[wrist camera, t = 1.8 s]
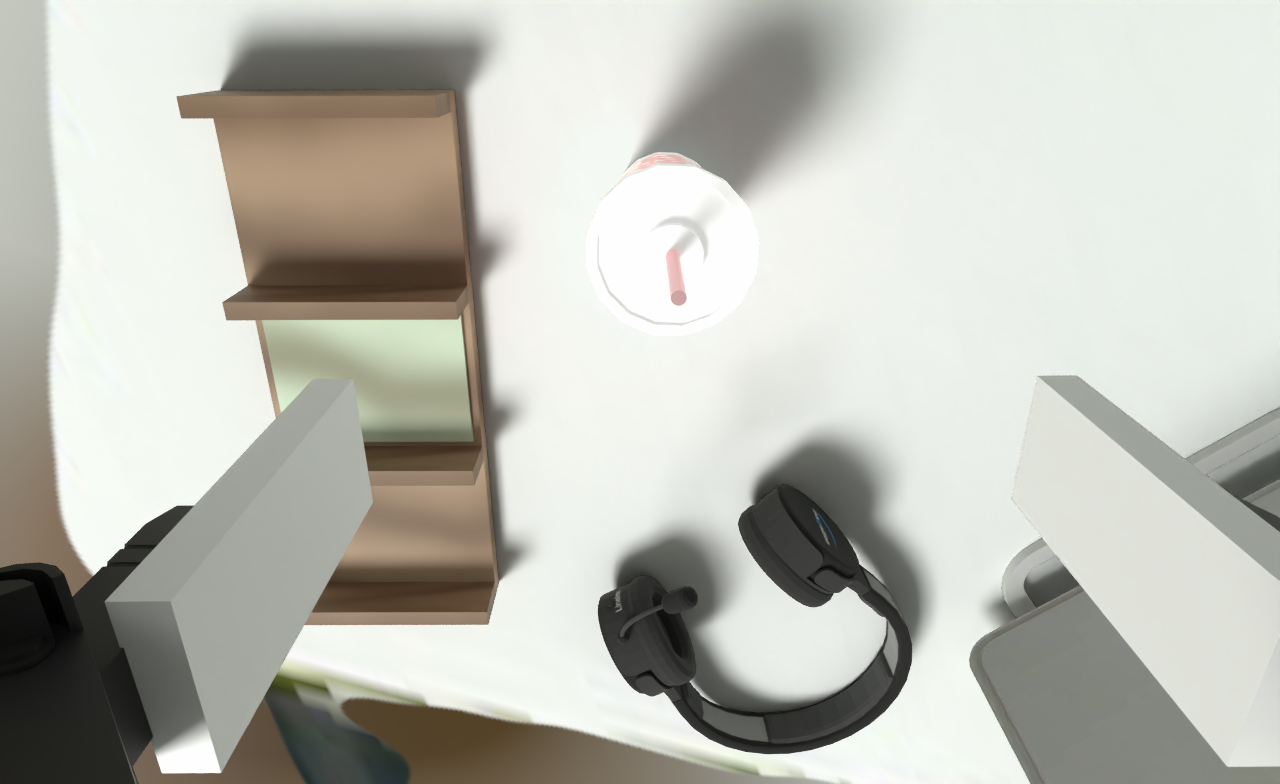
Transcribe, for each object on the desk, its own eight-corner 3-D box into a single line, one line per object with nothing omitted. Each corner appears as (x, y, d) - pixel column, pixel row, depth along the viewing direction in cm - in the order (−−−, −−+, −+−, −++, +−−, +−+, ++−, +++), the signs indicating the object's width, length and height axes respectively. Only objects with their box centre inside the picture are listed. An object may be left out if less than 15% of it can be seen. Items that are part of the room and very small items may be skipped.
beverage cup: (688, 105, 35) (718, 148, 22) (756, 225, 37) (819, 330, 24) (570, 181, 36) (532, 265, 23) (642, 294, 38) (644, 427, 25)
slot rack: (219, 90, 34) (176, 96, 31) (454, 89, 34) (435, 95, 31) (319, 582, 45) (294, 624, 42) (498, 582, 45) (488, 624, 42)
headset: (794, 531, 32) (1002, 772, 40) (748, 407, 40) (928, 628, 48) (531, 690, 35) (775, 881, 43) (539, 545, 43) (743, 729, 52)
